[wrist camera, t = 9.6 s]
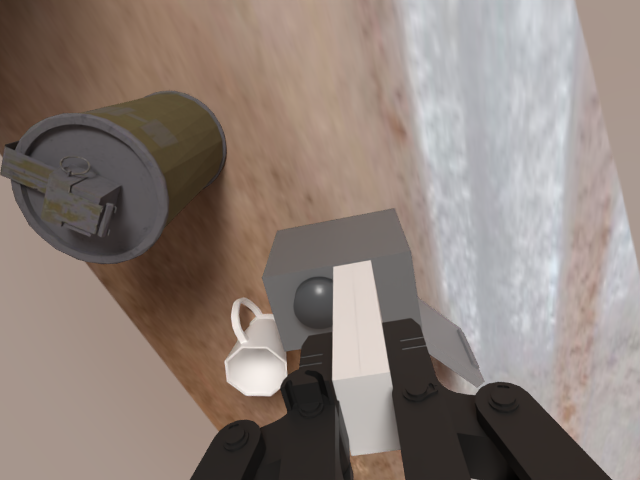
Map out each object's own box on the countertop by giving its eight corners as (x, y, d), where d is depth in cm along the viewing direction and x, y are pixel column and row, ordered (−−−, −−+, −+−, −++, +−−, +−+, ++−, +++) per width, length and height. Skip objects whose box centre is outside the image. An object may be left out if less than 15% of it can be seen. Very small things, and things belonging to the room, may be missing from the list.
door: (453, 335, 52) (475, 388, 44) (390, 289, 50) (401, 336, 42) (462, 326, 51) (486, 379, 43) (399, 280, 49) (411, 326, 41)
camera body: (277, 230, 49) (259, 286, 37) (394, 208, 47) (413, 258, 36) (295, 295, 52) (283, 365, 40) (405, 276, 50) (426, 343, 39)
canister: (241, 118, 44) (173, 166, 26) (207, 208, 48) (127, 305, 29) (136, 70, 42) (-17, 84, 24) (110, 166, 46) (-38, 242, 28)
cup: (254, 358, 56) (241, 405, 48) (216, 294, 52) (197, 334, 45) (305, 341, 54) (300, 387, 47) (270, 274, 51) (259, 313, 43)
